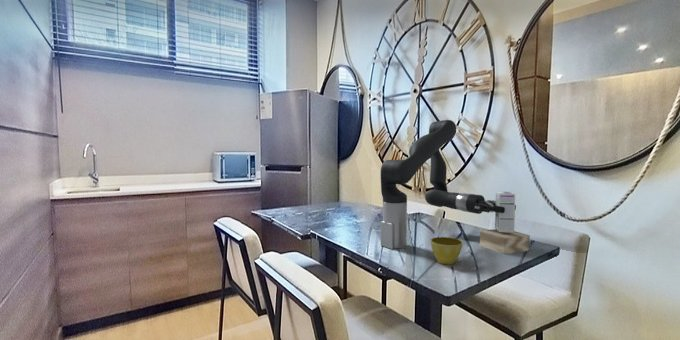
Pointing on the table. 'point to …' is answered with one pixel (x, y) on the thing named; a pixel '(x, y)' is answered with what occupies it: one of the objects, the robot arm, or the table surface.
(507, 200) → the syrup box
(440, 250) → the flower pot
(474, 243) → the table surface
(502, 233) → the birch block
